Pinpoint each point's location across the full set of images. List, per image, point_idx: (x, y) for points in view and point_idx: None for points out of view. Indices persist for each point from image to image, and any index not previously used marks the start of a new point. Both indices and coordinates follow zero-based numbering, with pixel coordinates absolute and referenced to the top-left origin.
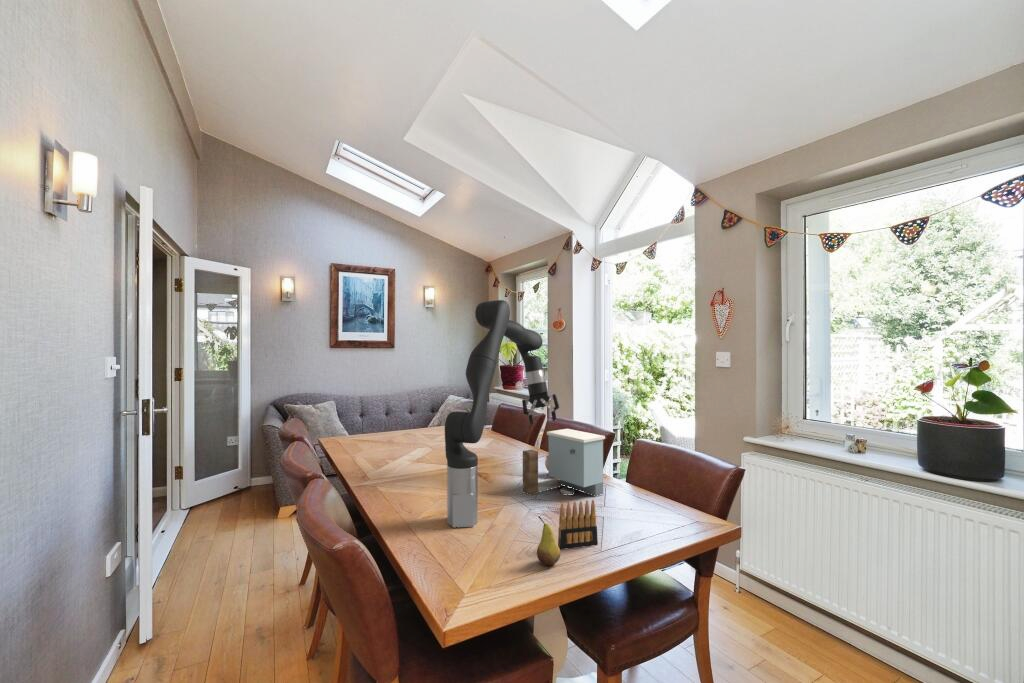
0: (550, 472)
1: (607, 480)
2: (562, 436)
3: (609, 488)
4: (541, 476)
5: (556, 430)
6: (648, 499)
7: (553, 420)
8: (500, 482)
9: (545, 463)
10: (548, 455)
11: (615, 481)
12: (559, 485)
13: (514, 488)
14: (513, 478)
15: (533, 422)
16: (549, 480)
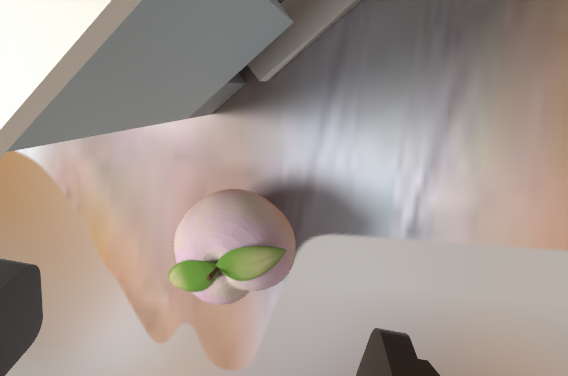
0: (278, 3)
1: (53, 149)
2: None
3: None
4: (323, 222)
5: (59, 45)
6: None
7: (15, 263)
8: (560, 127)
9: (293, 244)
10: (265, 256)
11: None
12: None
13: (490, 13)
14: (472, 197)
15: (374, 364)
16: (293, 40)
